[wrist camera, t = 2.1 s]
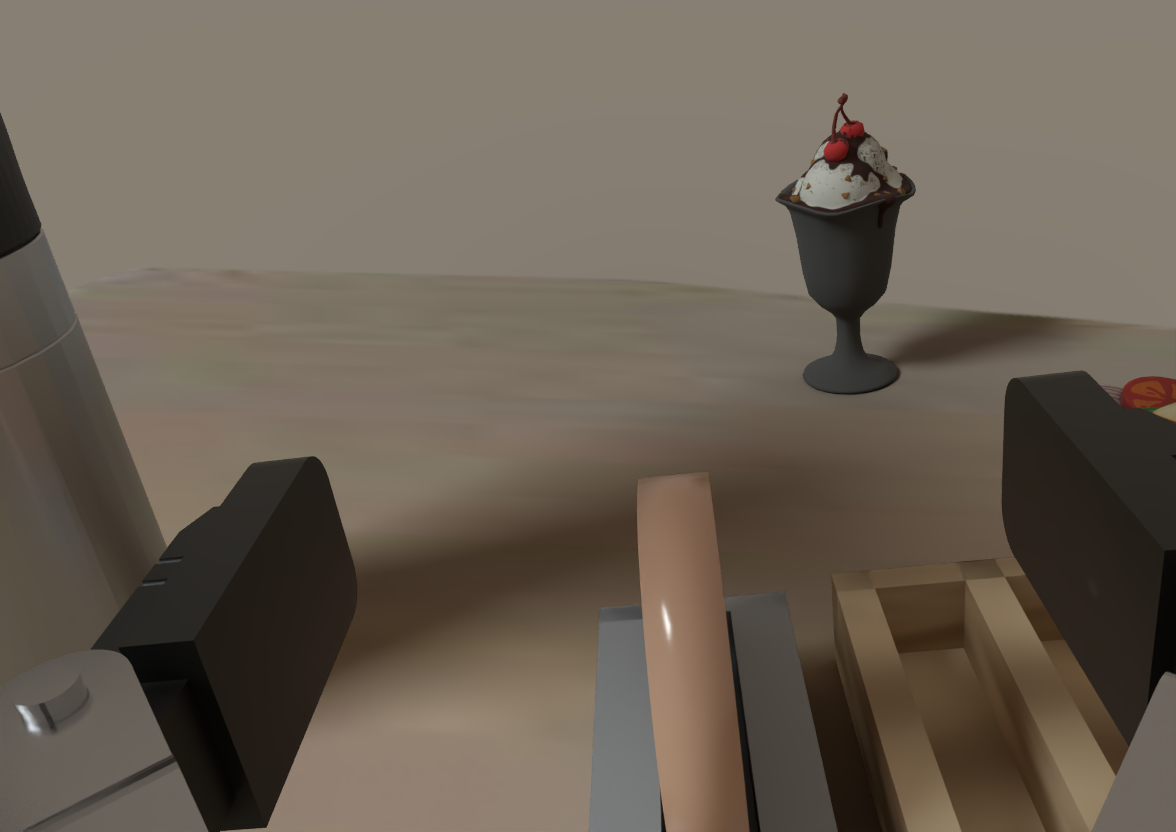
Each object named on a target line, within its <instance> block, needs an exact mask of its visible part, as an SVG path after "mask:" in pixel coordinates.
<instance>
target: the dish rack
mask: <svg viewBox="0 0 1176 832" xmlns="http://www.w3.org/2000/svg"><path fill="white" fill-rule="evenodd" d="M831 576H832V599H833V622H834V645H835V659H836V663H837V666H838V670H839V674H840V678H841V681H842V685H843V689H844V693H845V696H846V700H847V704H848V707H849V711H850V715H851V719H852V722H853V726H854V730H855V733H856V737H857V741H858V745H859V748H860V752H861V756H862V759H863V763H864V767H865V771H866V774H867V778H868V782H869V785H870V789H871V793H872V797H873V800H874V804H875V808H876V811H877V815H878V819H879V823H880V826H881V830H882V832H1091V831H1092V829H1093V826H1094V824H1095V822H1096V820H1097V818H1098V815H1099V813H1100V811H1101V809H1102V806H1103V804H1104V802H1105V800H1106V798H1107V795H1108V793H1109V791H1110V789H1111V787H1112V784H1113V782H1114V780H1115V778H1116V775H1117V773H1118V771H1119V769H1120V767H1121V764H1122V762H1123V760H1124V758H1125V755H1126V753H1127V751H1128V749H1129V746H1128V745H1127V743H1126V741H1125V740H1124V738H1123V736H1122V735H1121V733H1120V731H1119V730H1118V728H1117V726H1116V725H1115V723H1114V721H1113V720H1112V718H1111V716H1110V715H1109V713H1108V711H1107V710H1106V708H1105V706H1104V705H1103V703H1102V701H1101V700H1100V698H1099V696H1098V695H1097V693H1096V691H1095V690H1094V688H1093V686H1092V685H1091V683H1090V681H1089V680H1088V678H1087V676H1086V675H1085V673H1084V671H1083V670H1082V668H1081V666H1080V665H1079V663H1078V661H1077V660H1076V658H1075V656H1074V655H1073V653H1072V651H1071V650H1070V648H1069V646H1068V645H1067V643H1066V641H1065V640H1064V638H1063V636H1062V635H1061V633H1060V631H1059V630H1058V628H1057V626H1056V625H1055V623H1054V621H1053V620H1052V618H1051V616H1050V615H1049V613H1048V611H1047V610H1046V608H1045V606H1044V605H1043V603H1042V601H1041V600H1040V598H1039V596H1038V595H1037V593H1036V591H1035V590H1034V588H1033V587H1032V585H1031V583H1030V582H1029V580H1028V578H1027V577H1026V575H1025V573H1024V572H1023V570H1022V568H1021V567H1020V565H1019V563H1018V562H1017V560H1016V558H1015V557H1008V558H997V559H986V560H975V561H964V562H953V563H943V564H932V565H921V566H910V567H899V568H888V569H877V570H866V571H855V572H844V573H833V574H831Z"/></svg>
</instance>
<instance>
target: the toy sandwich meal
mask: <svg viewBox="0 0 1176 832" xmlns="http://www.w3.org/2000/svg"><path fill="white" fill-rule="evenodd" d="M1099 385H1100V386H1101V387H1102V388H1103V389H1104V390H1105V391H1106V392H1107V393H1108V394H1109V395H1110V396H1111V397H1112V398H1113V399H1114V400H1115V401H1116V402H1117V403H1118V404H1119V405H1120V406H1121V407H1122V408H1123V409H1130V408H1139V407H1140V408H1142V409H1145V410H1147V411H1149V412H1152V413H1154V414H1156V415H1158V416H1161V417H1163V418H1165V419H1168V420H1170V421H1172V422H1174V423H1176V380H1175V379H1170V378H1164V377H1155V376H1151V377H1141V378H1137V379H1134V380H1132V381H1130V382H1128V383H1127V384H1126V385H1125V386H1124V388H1119V387H1115V386H1111V385H1102V384H1099Z"/></svg>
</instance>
